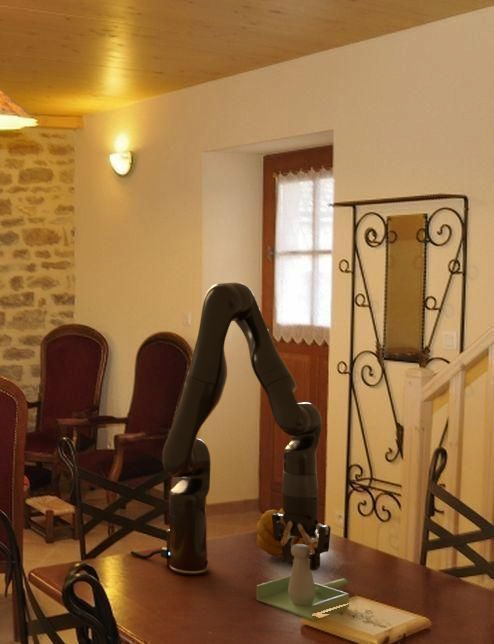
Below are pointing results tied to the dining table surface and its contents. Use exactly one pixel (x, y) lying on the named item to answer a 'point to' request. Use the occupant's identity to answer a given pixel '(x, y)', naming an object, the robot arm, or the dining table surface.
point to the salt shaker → (301, 577)
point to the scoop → (325, 598)
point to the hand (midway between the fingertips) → (301, 565)
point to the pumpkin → (272, 535)
